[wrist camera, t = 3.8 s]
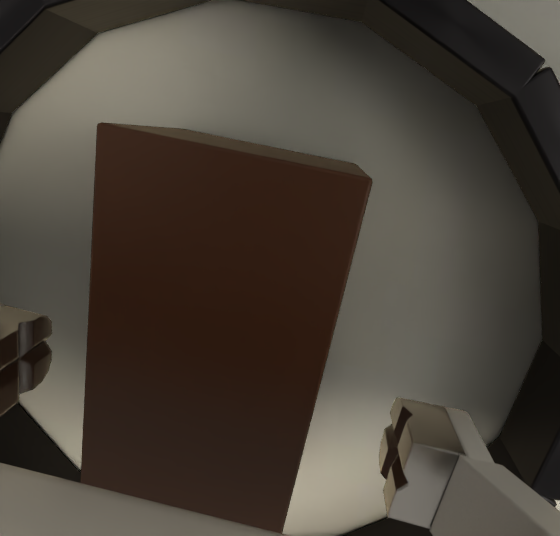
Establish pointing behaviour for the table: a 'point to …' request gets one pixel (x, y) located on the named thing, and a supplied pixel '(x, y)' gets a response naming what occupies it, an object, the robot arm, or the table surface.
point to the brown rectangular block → (211, 315)
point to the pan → (440, 62)
